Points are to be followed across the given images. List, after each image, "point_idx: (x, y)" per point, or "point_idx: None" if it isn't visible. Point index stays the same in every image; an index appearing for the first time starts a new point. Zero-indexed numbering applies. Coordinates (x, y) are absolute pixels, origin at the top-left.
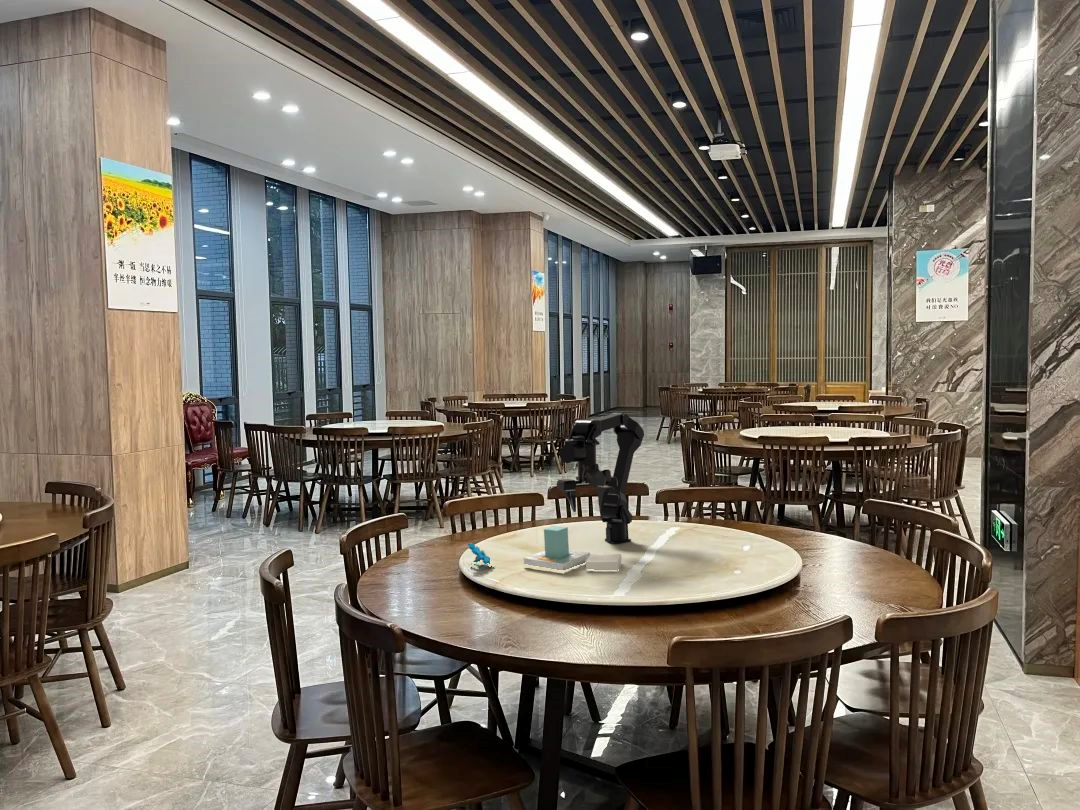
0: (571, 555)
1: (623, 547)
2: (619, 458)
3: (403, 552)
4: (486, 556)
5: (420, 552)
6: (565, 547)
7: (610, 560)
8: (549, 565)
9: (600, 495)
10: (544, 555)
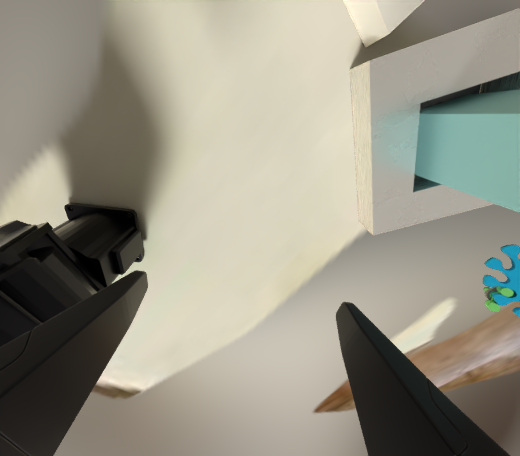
0: (447, 88)
1: (129, 159)
2: None
3: (442, 389)
4: (513, 281)
5: (433, 380)
6: (491, 105)
7: None
8: None
9: (50, 408)
10: None
